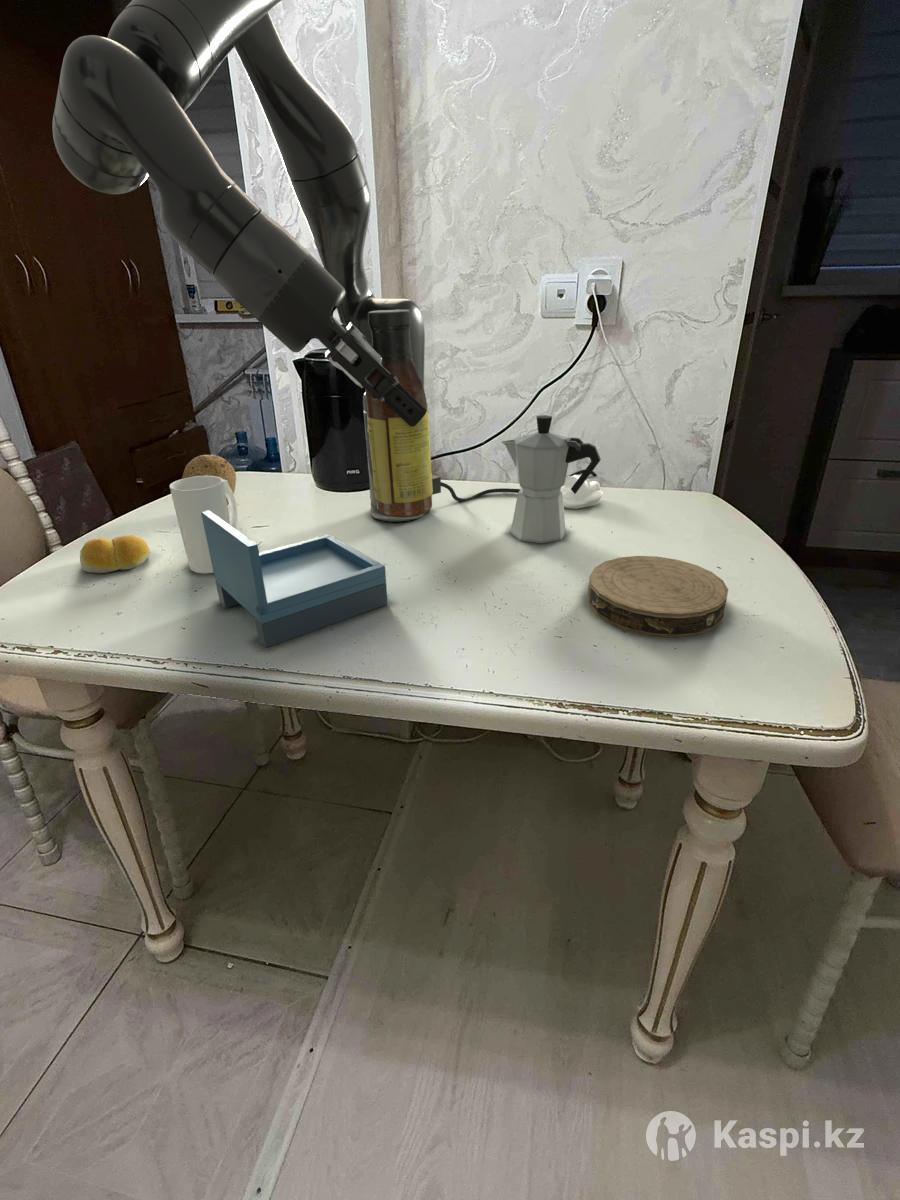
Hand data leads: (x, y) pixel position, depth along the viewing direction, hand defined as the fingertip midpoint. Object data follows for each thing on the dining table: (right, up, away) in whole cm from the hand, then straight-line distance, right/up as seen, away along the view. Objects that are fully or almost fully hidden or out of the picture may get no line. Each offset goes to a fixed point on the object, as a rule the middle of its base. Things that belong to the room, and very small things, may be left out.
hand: (414, 412), depth 64 cm
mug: (-29, -14, +26) cm, 42 cm away
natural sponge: (-38, -4, +46) cm, 59 cm away
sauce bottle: (-2, -10, +5) cm, 11 cm away
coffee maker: (+18, -9, +34) cm, 40 cm away
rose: (+26, -1, +48) cm, 55 cm away
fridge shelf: (-15, -20, +14) cm, 28 cm away
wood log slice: (+29, -20, +13) cm, 37 cm away
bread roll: (-44, -14, +26) cm, 54 cm away
